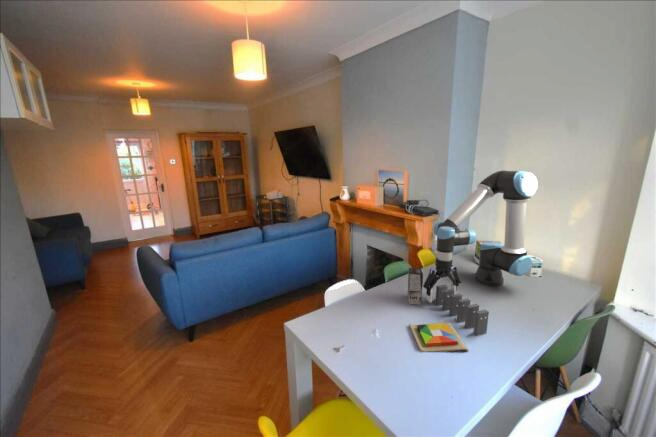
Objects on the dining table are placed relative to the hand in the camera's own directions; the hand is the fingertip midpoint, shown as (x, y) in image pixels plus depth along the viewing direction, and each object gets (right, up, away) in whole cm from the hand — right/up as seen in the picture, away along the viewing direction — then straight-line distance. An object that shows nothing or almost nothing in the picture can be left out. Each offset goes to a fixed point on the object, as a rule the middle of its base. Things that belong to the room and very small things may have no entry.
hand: (441, 298), depth 142 cm
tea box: (+53, +9, +53) cm, 75 cm away
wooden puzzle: (-12, -10, -25) cm, 29 cm away
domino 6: (+7, -8, -23) cm, 25 cm away
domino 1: (0, -3, +1) cm, 3 cm away
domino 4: (+4, -6, -13) cm, 15 cm away
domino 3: (+3, -5, -9) cm, 10 cm away
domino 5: (+6, -7, -18) cm, 20 cm away
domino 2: (+1, -4, -4) cm, 6 cm away
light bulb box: (+69, +6, +35) cm, 77 cm away
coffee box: (-12, -2, +5) cm, 13 cm away
